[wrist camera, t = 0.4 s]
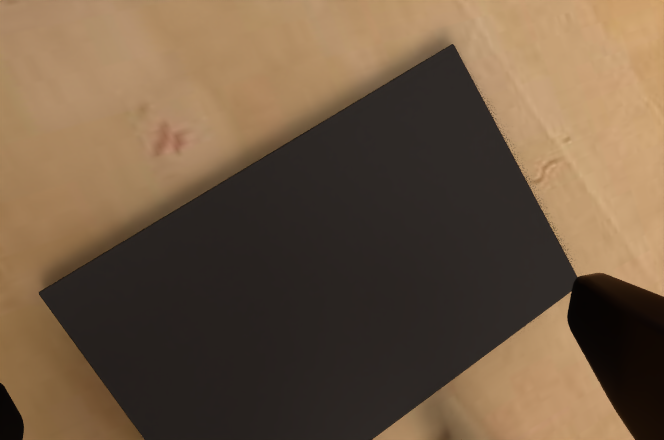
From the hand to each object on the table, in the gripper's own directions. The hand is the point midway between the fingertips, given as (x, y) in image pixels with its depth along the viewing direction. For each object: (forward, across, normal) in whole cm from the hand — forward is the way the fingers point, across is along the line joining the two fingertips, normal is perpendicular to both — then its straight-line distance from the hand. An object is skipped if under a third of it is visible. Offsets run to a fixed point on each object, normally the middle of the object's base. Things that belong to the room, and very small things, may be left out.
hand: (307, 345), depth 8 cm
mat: (+12, -2, +8) cm, 14 cm away
